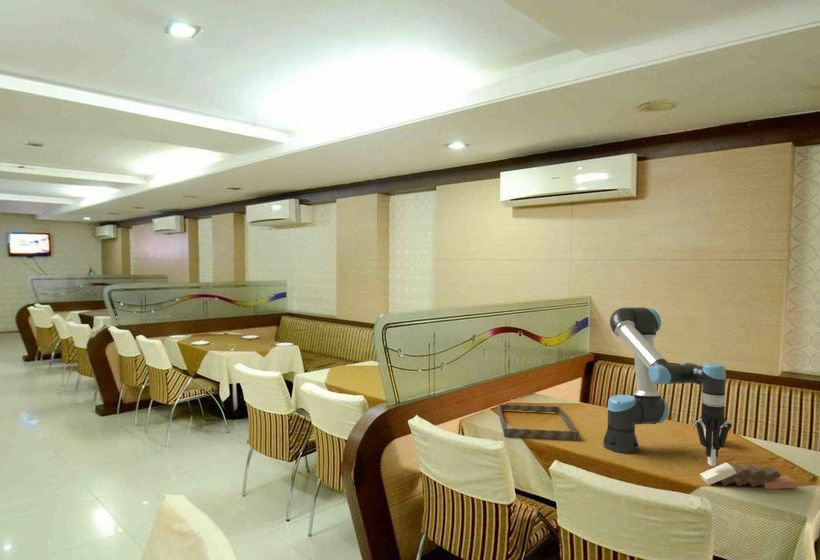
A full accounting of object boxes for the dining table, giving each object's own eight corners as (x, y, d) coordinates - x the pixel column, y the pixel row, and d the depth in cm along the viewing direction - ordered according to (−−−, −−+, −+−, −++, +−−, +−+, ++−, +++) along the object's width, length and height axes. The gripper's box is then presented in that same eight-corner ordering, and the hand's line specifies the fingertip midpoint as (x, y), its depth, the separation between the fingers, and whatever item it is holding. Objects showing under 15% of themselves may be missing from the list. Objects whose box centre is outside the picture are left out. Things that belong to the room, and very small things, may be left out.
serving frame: (504, 436, 230) (504, 428, 229) (497, 410, 271) (497, 403, 271) (578, 440, 226) (578, 432, 226) (560, 413, 268) (560, 406, 267)
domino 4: (749, 481, 179) (778, 470, 177) (742, 476, 184) (769, 465, 182) (752, 487, 179) (781, 476, 177) (744, 481, 184) (772, 470, 182)
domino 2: (720, 480, 180) (748, 468, 179) (713, 474, 185) (740, 462, 184) (723, 486, 180) (751, 473, 179) (716, 480, 185) (743, 468, 184)
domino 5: (764, 482, 178) (796, 481, 177) (756, 476, 183) (787, 475, 182) (765, 488, 178) (796, 487, 177) (757, 482, 183) (787, 482, 182)
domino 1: (706, 479, 181) (733, 467, 179) (699, 473, 186) (726, 462, 184) (709, 485, 180) (736, 473, 179) (702, 479, 185) (729, 467, 184)
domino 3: (735, 481, 179) (762, 469, 178) (727, 475, 184) (754, 463, 183) (738, 486, 179) (766, 474, 178) (730, 480, 184) (757, 469, 183)
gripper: (700, 406, 179) (698, 467, 179) (736, 407, 177) (735, 469, 178) (690, 400, 186) (689, 459, 187) (725, 402, 185) (724, 461, 185)
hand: (711, 464), depth 182 cm, fingers closed
